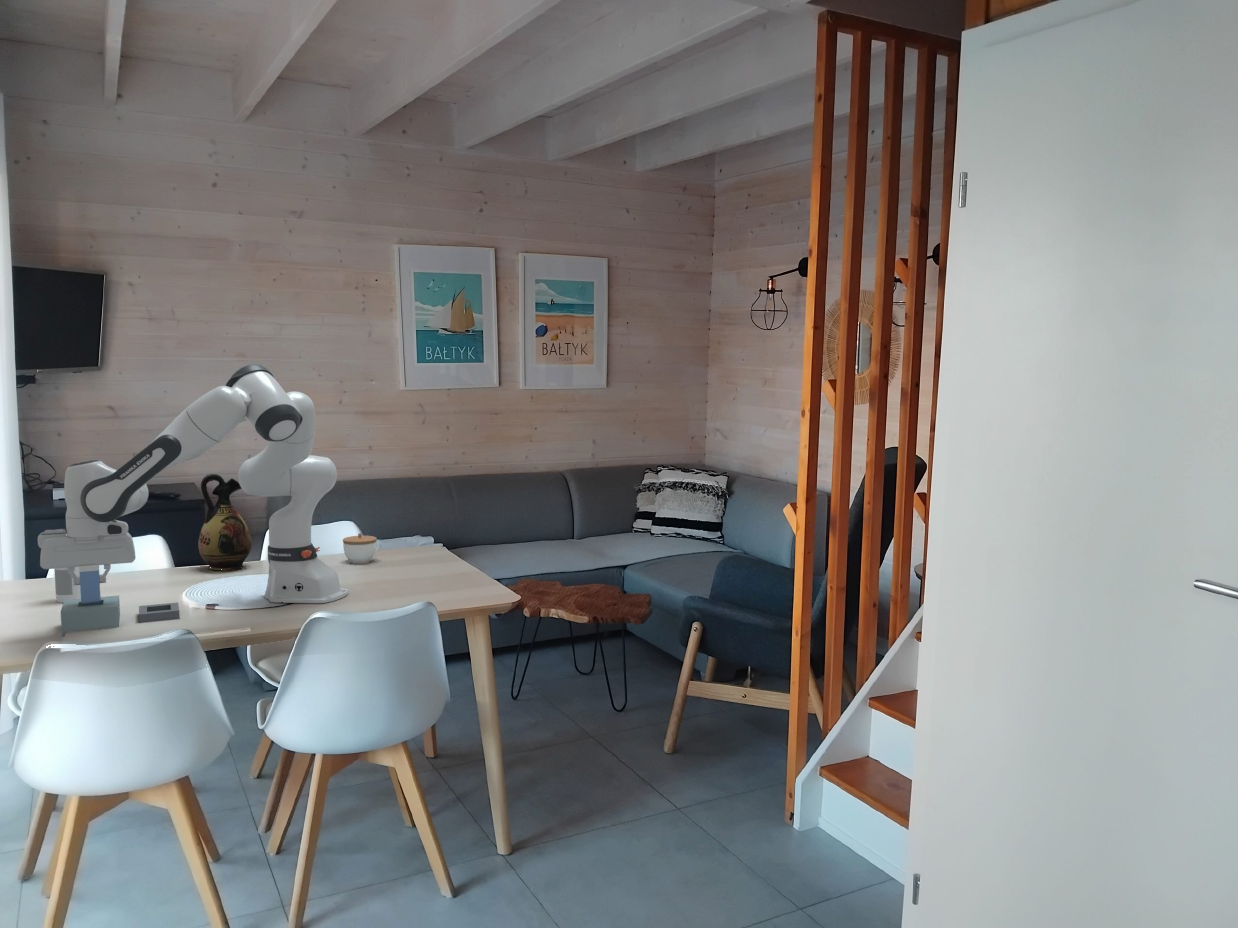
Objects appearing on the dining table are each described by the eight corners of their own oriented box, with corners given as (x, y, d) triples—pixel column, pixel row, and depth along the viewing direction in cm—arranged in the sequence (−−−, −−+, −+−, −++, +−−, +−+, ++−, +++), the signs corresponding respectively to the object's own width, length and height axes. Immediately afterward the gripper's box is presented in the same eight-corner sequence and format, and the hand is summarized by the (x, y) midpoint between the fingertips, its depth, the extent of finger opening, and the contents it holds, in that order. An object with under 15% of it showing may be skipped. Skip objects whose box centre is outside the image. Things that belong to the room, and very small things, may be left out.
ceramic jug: (248, 561, 312) (245, 470, 309) (255, 570, 298) (252, 475, 295) (191, 566, 304) (188, 472, 301) (195, 575, 290) (192, 477, 287)
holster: (178, 613, 246) (178, 602, 246) (179, 622, 238) (179, 610, 238) (139, 617, 242) (139, 605, 242) (139, 626, 234) (138, 614, 234)
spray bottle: (58, 598, 262) (55, 533, 260) (86, 596, 264) (83, 531, 262) (53, 603, 255) (50, 537, 253) (82, 601, 258) (79, 536, 256)
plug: (100, 597, 235) (98, 561, 234) (100, 601, 232) (98, 564, 231) (81, 599, 233) (79, 563, 233) (81, 603, 230) (79, 566, 229)
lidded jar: (345, 558, 317) (344, 531, 316) (378, 558, 319) (377, 530, 318) (341, 565, 307) (341, 536, 306) (376, 564, 309) (375, 535, 308)
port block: (120, 618, 241) (119, 595, 241) (119, 630, 231) (118, 606, 230) (65, 623, 236) (64, 600, 235) (61, 636, 225) (60, 611, 225)
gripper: (35, 532, 223) (39, 590, 225) (133, 526, 232) (136, 582, 234) (38, 528, 229) (41, 585, 230) (134, 522, 238) (136, 577, 239)
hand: (90, 583), depth 232 cm, fingers closed on plug, 4 cm apart
